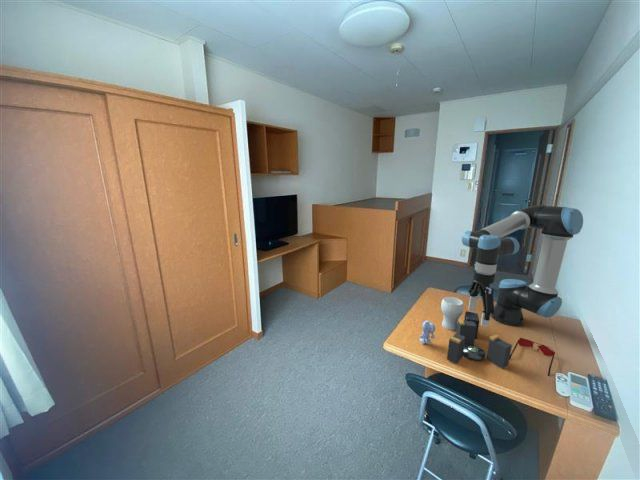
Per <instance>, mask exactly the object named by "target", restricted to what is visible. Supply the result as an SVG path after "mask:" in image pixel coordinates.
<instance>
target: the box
mask: <svg viewBox="0 0 640 480" xmlns="http://www.w3.org/2000/svg"><path fill="white" fill-rule="evenodd" d="M463 321H471V322H474V323H475V324H476V326H477V328H476V335H475V340H477V339H478V332H479V326H480V319H479V314H478V312H473V311H472V312H471V311H466V310H465V315H464V320H463Z"/></svg>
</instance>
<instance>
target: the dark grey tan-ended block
mask: <svg viewBox="0 0 640 480" xmlns="http://www.w3.org/2000/svg"><path fill="white" fill-rule="evenodd" d="M512 347H513V345H512V344H510V343H509V342H507V341H504V340H503V339H501V338H500V336H499V335H497V334H496V333H495V334H493V335H490V336H489V339H488V347H487V351H486V355H485V358H486V360H488V361H489V362H491V363H493V365H495V366H497V367H499V368H501V369H505V368H506V367H508V366H509V362H510V360H511V359H510V355H511V353H512ZM509 359H510V360H509Z"/></svg>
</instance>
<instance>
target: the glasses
mask: <svg viewBox="0 0 640 480" xmlns="http://www.w3.org/2000/svg"><path fill="white" fill-rule="evenodd" d="M534 344H537V347H538V348H537V351H538V352H539V351H541V353H542V354H543V355H544V356H546V357H551V359H550V360H551V361H550V363H549V367H548V371H547V377H550V374H551V369H552V365H553V362H554V357H555V355H556V352H555V350H554V349H553V348H552V347H549V346H547V345H545V344H541V343H537V342H535V341H532V340H529V339H526V338H523V337H520V338H519V339H518V340H517V342H516V344H515V346H514V347H513V349H512V350H511V354H510V359H509V361H510V360H511V358H512V356H513V354H514V352H515V350H516V348H517V346H518V345H519V347H526V348H531V349H533V348H534Z"/></svg>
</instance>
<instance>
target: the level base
mask: <svg viewBox="0 0 640 480" xmlns="http://www.w3.org/2000/svg"><path fill="white" fill-rule="evenodd" d="M462 358H465V359H466V360H468V361H472V362H476V363H478V362H479V363H481V362H483V361H484V360H485V358H486V352H485V350H484V348H482V347H480V346H479V345H476V344H475V343H474V344H469V343H466V344H465V345H464V352H463V357H462Z"/></svg>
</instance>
